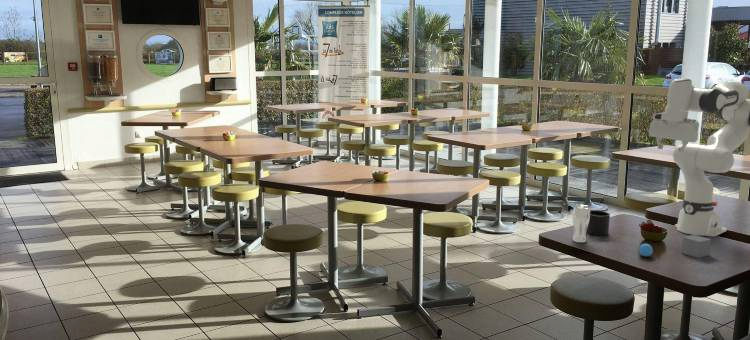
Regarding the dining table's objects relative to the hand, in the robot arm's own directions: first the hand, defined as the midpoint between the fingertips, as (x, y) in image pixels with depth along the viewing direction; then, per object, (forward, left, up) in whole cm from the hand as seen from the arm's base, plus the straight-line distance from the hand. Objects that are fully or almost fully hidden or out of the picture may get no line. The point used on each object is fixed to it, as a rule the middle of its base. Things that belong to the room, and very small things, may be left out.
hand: (670, 150), depth 267 cm
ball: (+26, +12, -36) cm, 46 cm away
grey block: (+6, +20, -39) cm, 44 cm away
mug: (+16, -20, -39) cm, 47 cm away
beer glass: (+33, -15, -39) cm, 53 cm away
